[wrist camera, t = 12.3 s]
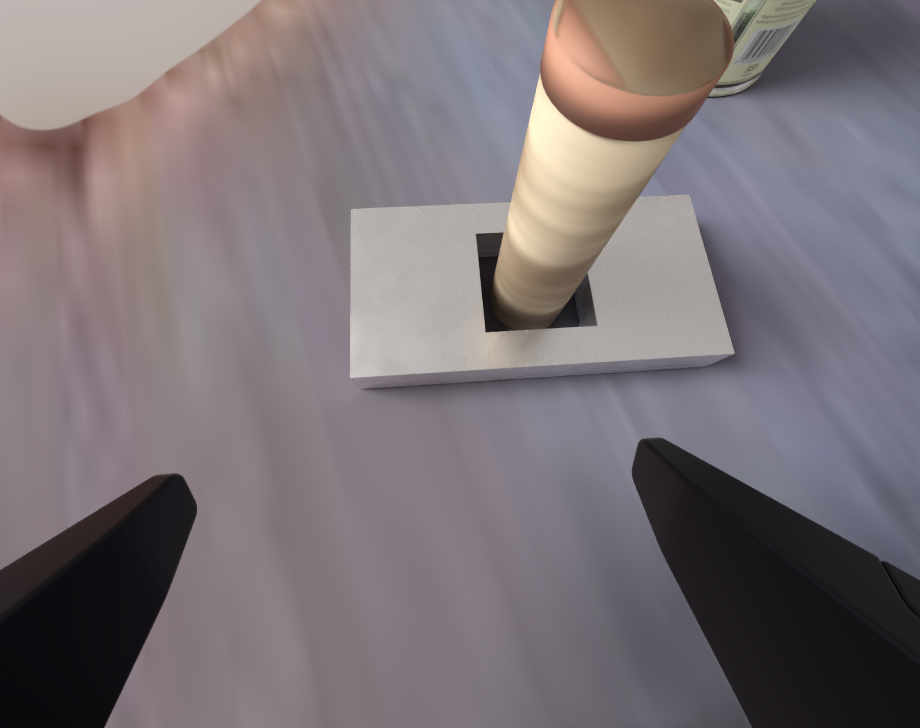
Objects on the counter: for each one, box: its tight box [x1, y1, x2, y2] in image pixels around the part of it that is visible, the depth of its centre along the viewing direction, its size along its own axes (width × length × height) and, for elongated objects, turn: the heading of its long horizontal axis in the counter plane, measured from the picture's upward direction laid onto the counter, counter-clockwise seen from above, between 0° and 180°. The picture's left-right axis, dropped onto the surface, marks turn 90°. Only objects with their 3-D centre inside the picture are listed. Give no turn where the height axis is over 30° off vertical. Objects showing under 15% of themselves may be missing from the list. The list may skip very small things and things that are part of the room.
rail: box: [350, 195, 735, 389], centre depth 23 cm, size 10×20×2 cm, turn 94°
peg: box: [490, 0, 734, 331], centre depth 17 cm, size 4×4×15 cm
